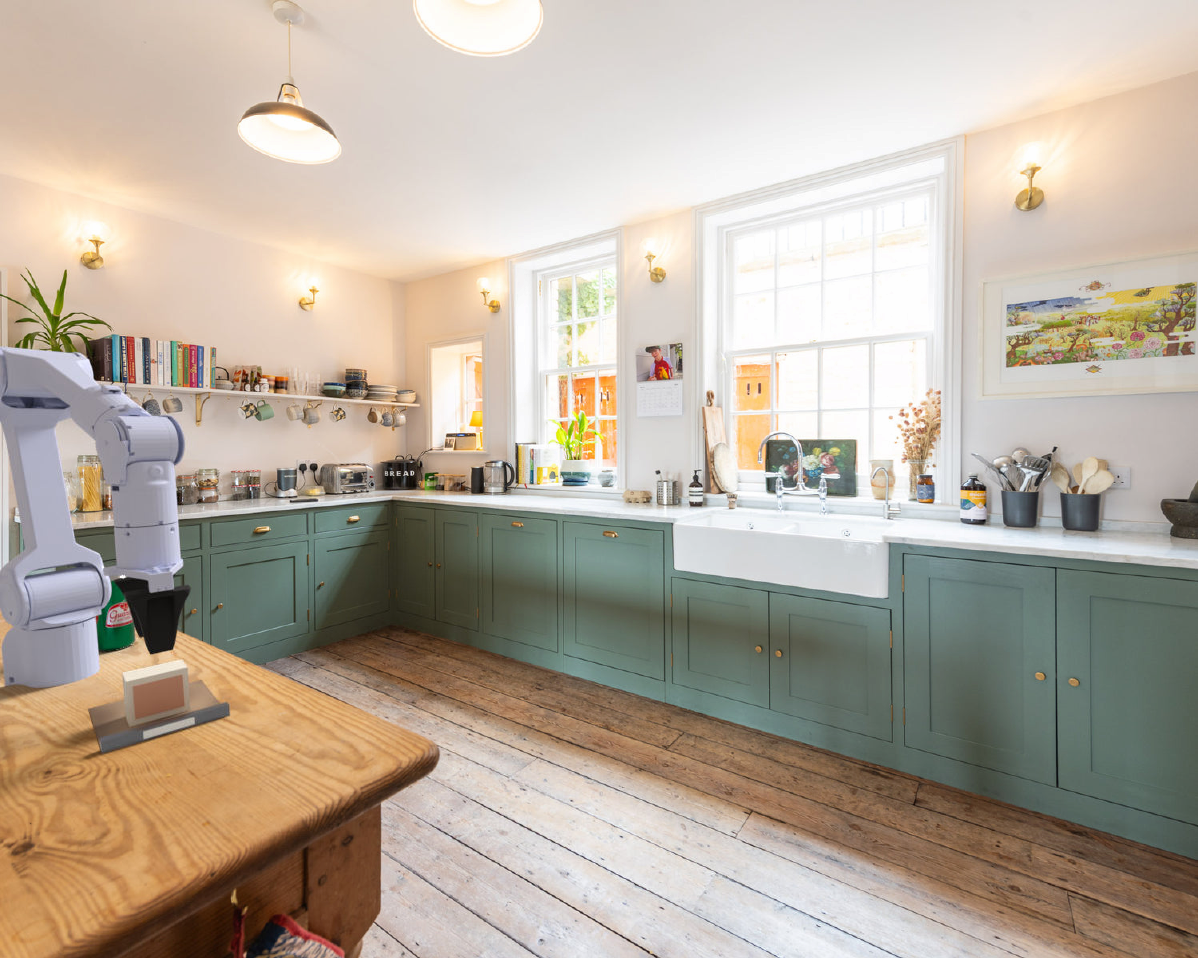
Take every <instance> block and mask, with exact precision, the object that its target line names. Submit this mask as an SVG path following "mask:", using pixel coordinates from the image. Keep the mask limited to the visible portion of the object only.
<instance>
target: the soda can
mask: <svg viewBox="0 0 1198 958" xmlns="http://www.w3.org/2000/svg"><path fill="white" fill-rule="evenodd" d="M124 577H125V576H119V575H112V576H109V578H110V582H111V597H110V600H109V601H108V603H107V605H106V606H105V607H104V608H102V609H101V615H97V616H96V628H97V641H98V652H102V651H107V652H113V651H112V650H115V651H117V650H116V649H120V648H123V647H126V648H128V647H127V646H129V645H131V644H132V645H133V644H134V643H135V641H136V629H135V626H134V623H133V620H132V616H131V613H130V610H129V607H128V604H127V602H126V599H125V597H124V595H123V594H122V592H121V590H120V589H119V588H118V586H117V585H116V584H115V583H114V580H115V579H118V578H124ZM132 645H131V646H132ZM129 647H130V646H129ZM123 649H124V648H123ZM120 650H121V649H120Z"/></svg>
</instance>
